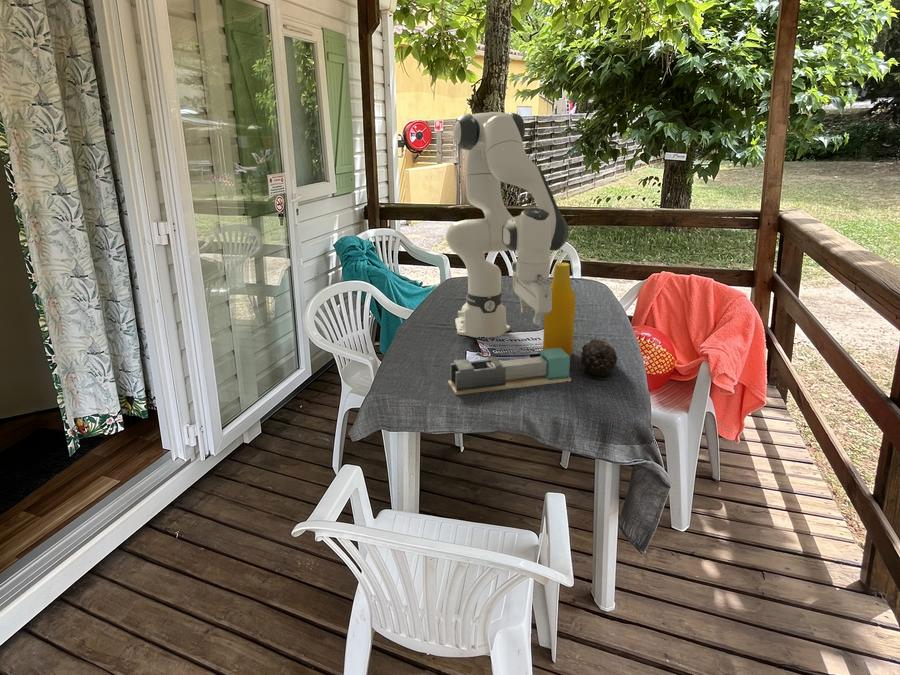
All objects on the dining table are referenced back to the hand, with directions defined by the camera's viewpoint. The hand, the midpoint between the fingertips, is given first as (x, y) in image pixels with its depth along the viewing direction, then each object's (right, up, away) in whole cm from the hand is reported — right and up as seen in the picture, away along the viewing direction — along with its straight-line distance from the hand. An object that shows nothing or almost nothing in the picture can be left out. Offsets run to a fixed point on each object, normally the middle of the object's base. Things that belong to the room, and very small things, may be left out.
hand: (530, 318), depth 176 cm
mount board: (-6, -18, +3) cm, 19 cm away
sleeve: (-15, -19, +1) cm, 24 cm away
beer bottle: (+11, -11, +23) cm, 28 cm away
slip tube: (-2, -16, +4) cm, 16 cm away
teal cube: (+7, -17, +6) cm, 19 cm away
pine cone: (+21, -15, +11) cm, 28 cm away
